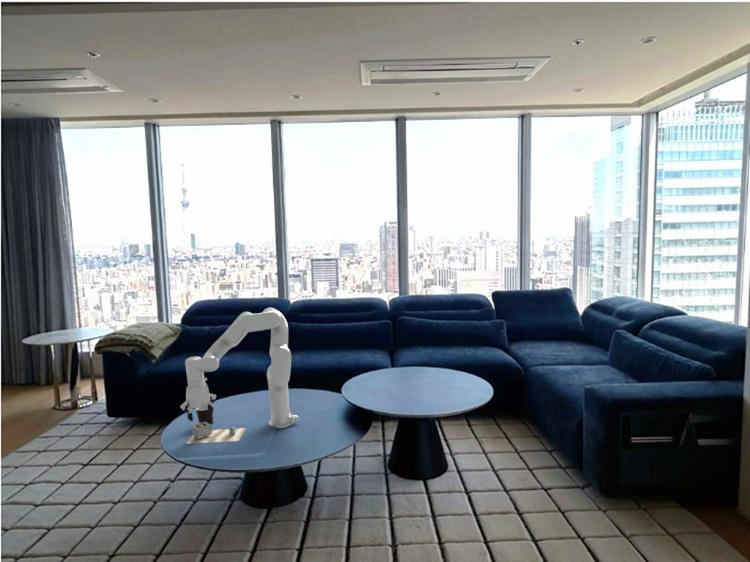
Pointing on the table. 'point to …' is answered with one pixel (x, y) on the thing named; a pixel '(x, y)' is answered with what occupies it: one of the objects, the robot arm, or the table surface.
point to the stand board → (219, 435)
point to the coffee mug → (204, 414)
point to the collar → (201, 430)
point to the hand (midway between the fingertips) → (200, 416)
